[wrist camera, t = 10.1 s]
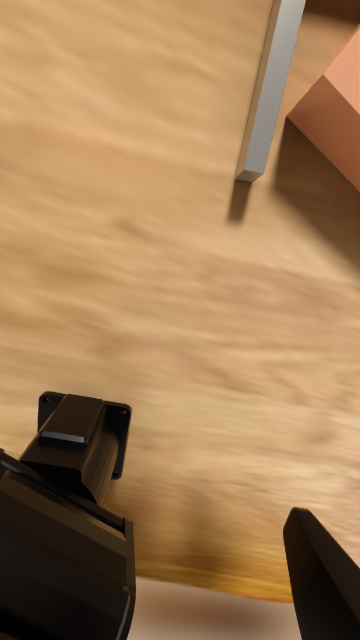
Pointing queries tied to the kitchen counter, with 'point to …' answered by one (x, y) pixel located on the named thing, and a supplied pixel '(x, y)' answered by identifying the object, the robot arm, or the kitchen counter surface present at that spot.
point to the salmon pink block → (335, 110)
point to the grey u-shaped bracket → (269, 87)
